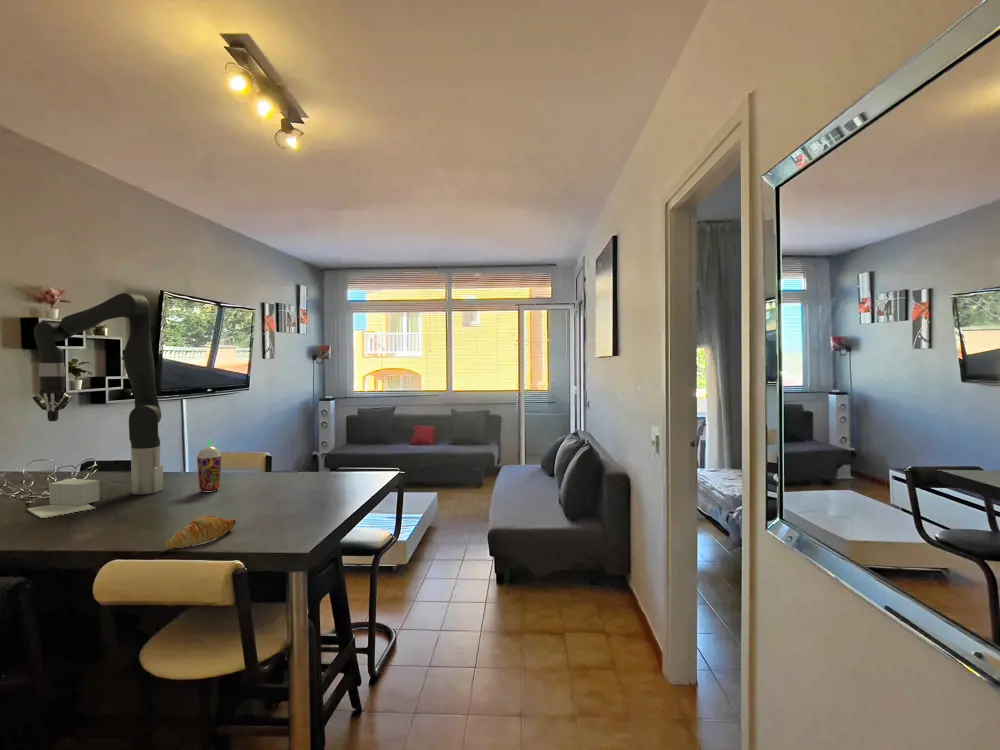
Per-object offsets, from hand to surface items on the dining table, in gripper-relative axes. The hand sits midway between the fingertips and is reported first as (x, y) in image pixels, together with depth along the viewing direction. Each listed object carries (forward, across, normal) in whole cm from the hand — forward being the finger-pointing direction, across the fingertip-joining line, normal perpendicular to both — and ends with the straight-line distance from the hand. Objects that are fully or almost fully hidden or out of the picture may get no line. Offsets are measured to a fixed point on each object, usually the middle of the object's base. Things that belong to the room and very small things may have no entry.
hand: (53, 421), depth 201 cm
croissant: (+28, +80, -60) cm, 103 cm away
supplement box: (+23, +13, -16) cm, 31 cm away
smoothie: (+27, +57, -2) cm, 63 cm away
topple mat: (+27, +20, -25) cm, 42 cm away
